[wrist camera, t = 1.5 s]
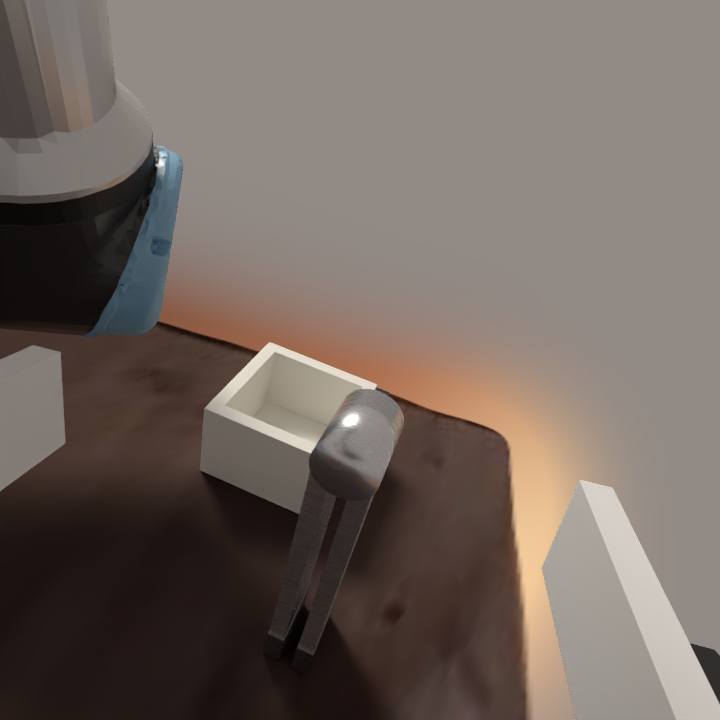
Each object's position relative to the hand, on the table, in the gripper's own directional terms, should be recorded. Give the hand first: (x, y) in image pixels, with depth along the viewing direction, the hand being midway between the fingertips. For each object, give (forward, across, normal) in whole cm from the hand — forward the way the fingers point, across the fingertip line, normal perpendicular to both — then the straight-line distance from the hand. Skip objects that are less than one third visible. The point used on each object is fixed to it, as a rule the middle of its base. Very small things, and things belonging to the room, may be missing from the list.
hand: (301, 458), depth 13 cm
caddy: (+25, -6, -17) cm, 31 cm away
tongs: (+11, -1, -21) cm, 24 cm away
